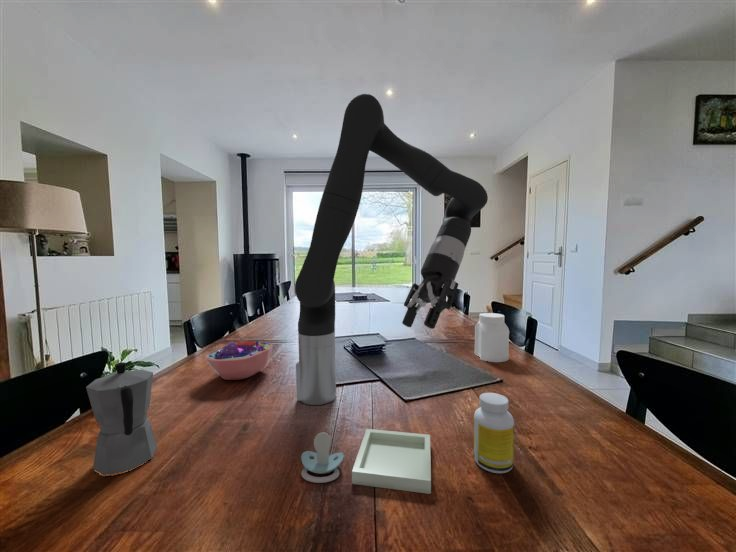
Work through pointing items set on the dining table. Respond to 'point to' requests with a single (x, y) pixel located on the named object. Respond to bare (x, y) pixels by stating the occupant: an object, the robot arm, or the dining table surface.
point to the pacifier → (321, 460)
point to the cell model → (239, 359)
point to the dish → (394, 461)
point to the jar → (492, 338)
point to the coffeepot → (122, 419)
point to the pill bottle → (494, 434)
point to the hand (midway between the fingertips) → (416, 326)
